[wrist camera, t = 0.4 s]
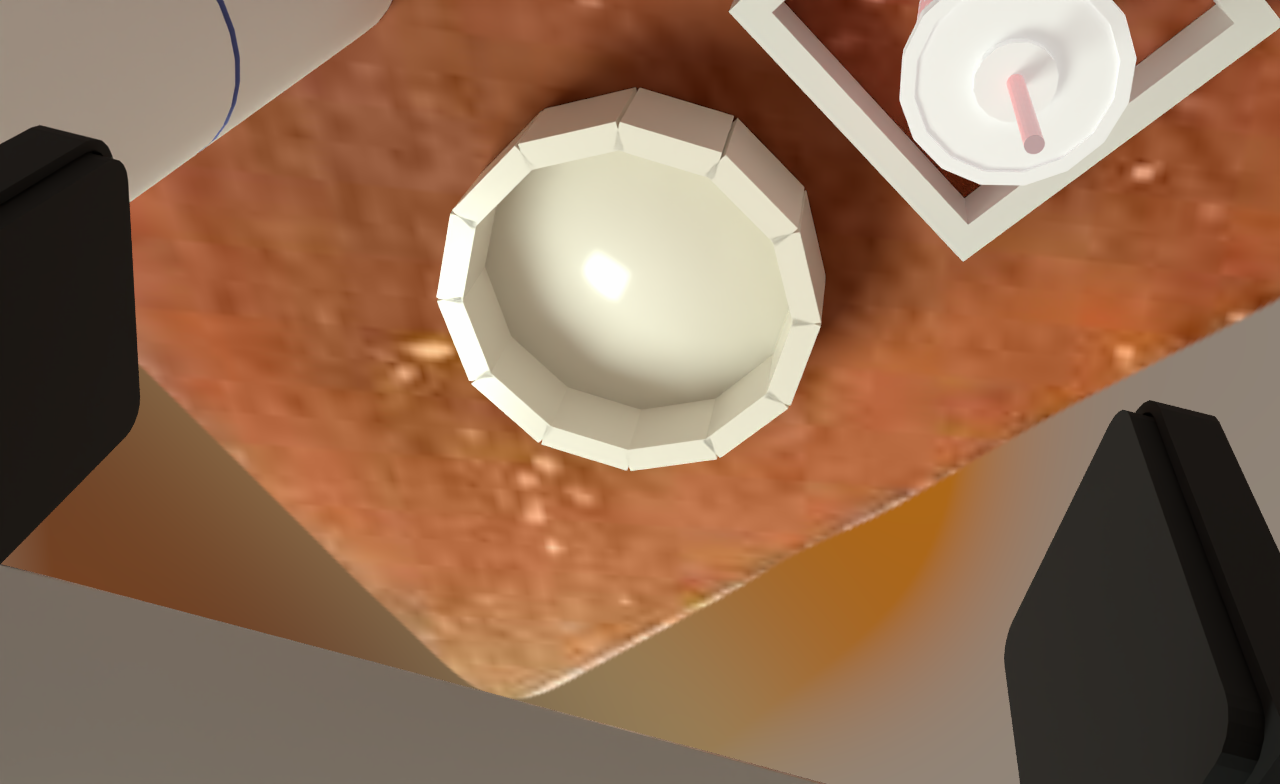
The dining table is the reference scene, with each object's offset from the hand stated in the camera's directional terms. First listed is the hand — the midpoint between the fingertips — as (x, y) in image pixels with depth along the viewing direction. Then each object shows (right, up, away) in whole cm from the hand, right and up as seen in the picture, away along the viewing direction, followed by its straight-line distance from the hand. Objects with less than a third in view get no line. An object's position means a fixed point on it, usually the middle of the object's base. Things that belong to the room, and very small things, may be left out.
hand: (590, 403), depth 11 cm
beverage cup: (+12, +13, +28) cm, 34 cm away
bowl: (+1, +5, +36) cm, 36 cm away
